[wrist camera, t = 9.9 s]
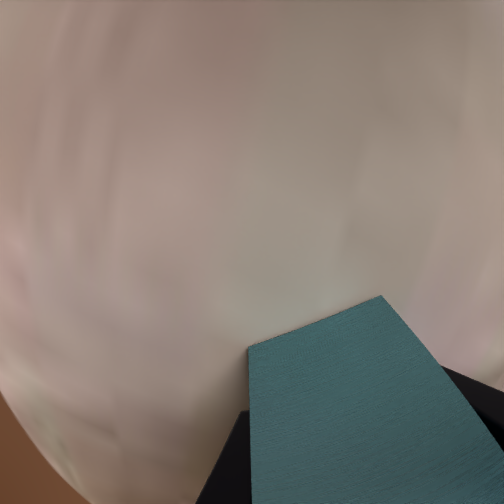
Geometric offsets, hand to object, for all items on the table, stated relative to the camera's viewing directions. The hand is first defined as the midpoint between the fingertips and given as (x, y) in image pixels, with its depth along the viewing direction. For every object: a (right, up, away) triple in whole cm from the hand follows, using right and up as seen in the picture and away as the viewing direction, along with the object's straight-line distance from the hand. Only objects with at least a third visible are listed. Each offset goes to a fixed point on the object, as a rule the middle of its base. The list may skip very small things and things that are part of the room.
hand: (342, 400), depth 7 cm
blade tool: (+3, -7, +4) cm, 9 cm away
